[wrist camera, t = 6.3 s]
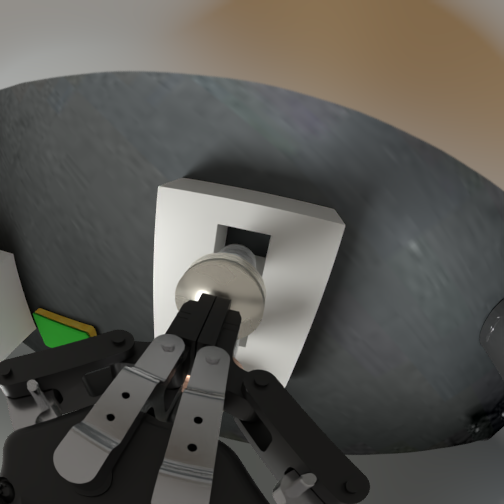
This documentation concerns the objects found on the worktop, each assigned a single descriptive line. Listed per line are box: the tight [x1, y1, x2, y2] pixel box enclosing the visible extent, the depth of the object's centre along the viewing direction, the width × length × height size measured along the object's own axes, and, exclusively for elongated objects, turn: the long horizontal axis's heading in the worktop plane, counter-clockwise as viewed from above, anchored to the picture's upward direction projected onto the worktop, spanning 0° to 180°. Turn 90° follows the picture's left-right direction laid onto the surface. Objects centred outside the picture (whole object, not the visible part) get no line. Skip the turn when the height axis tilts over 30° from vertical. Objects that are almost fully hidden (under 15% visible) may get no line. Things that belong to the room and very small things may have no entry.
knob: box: [175, 244, 266, 340], centre depth 16 cm, size 5×5×6 cm
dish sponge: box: [33, 308, 97, 348], centre depth 35 cm, size 7×14×2 cm, turn 87°
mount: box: [153, 178, 345, 388], centre depth 25 cm, size 14×22×5 cm, turn 170°
